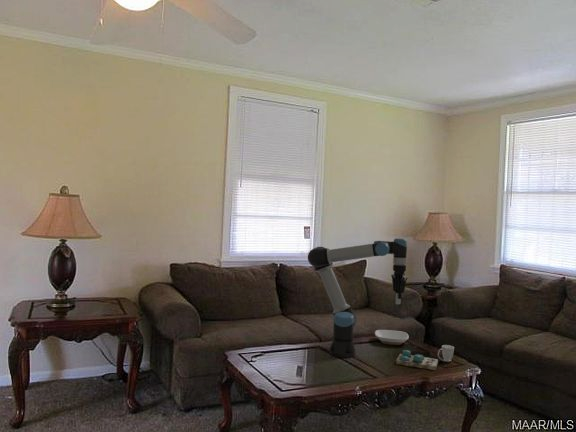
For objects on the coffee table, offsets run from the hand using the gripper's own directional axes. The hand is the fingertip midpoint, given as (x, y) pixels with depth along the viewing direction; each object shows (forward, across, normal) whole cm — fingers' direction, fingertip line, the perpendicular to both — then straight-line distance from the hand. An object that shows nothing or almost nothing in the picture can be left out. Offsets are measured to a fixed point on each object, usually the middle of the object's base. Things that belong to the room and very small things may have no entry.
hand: (398, 303), depth 281 cm
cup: (+30, -20, -19) cm, 41 cm away
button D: (+29, -18, -3) cm, 34 cm away
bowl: (+30, +21, -11) cm, 38 cm away
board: (+29, -20, 0) cm, 35 cm away
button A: (+29, -18, +7) cm, 34 cm away
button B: (+27, -13, +2) cm, 30 cm away
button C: (+27, -22, +2) cm, 36 cm away
